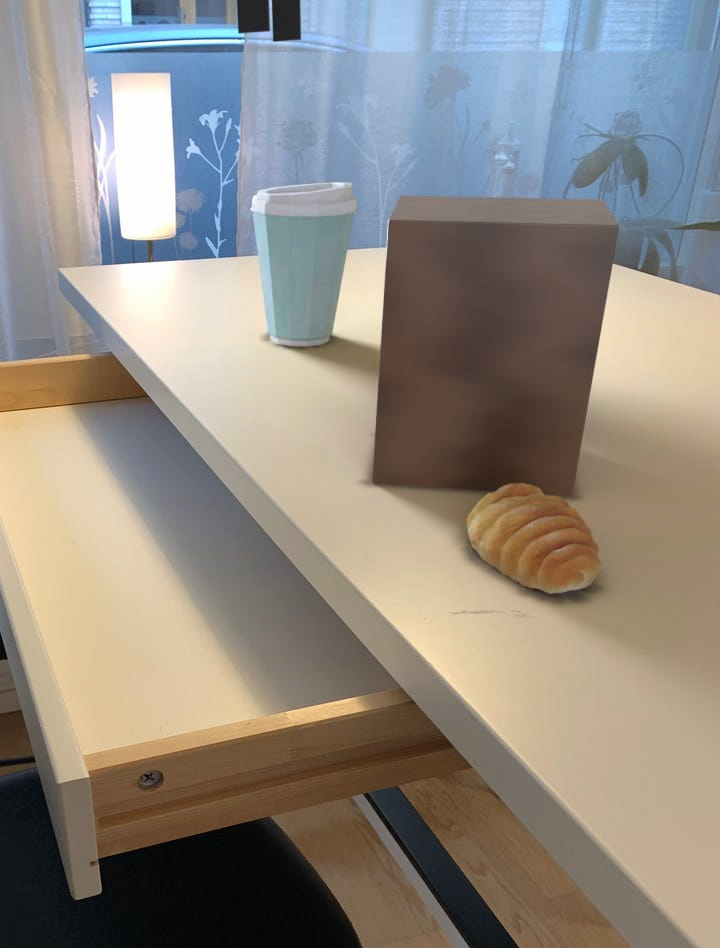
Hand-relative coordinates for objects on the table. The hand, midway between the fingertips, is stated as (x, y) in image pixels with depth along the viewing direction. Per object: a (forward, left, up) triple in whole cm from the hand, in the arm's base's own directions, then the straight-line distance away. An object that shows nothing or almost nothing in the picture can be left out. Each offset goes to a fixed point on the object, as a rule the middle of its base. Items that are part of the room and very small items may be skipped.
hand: (271, 37), depth 96 cm
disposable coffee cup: (-4, +3, -27) cm, 28 cm away
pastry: (-26, +50, -27) cm, 63 cm away
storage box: (-22, +28, -27) cm, 45 cm away
